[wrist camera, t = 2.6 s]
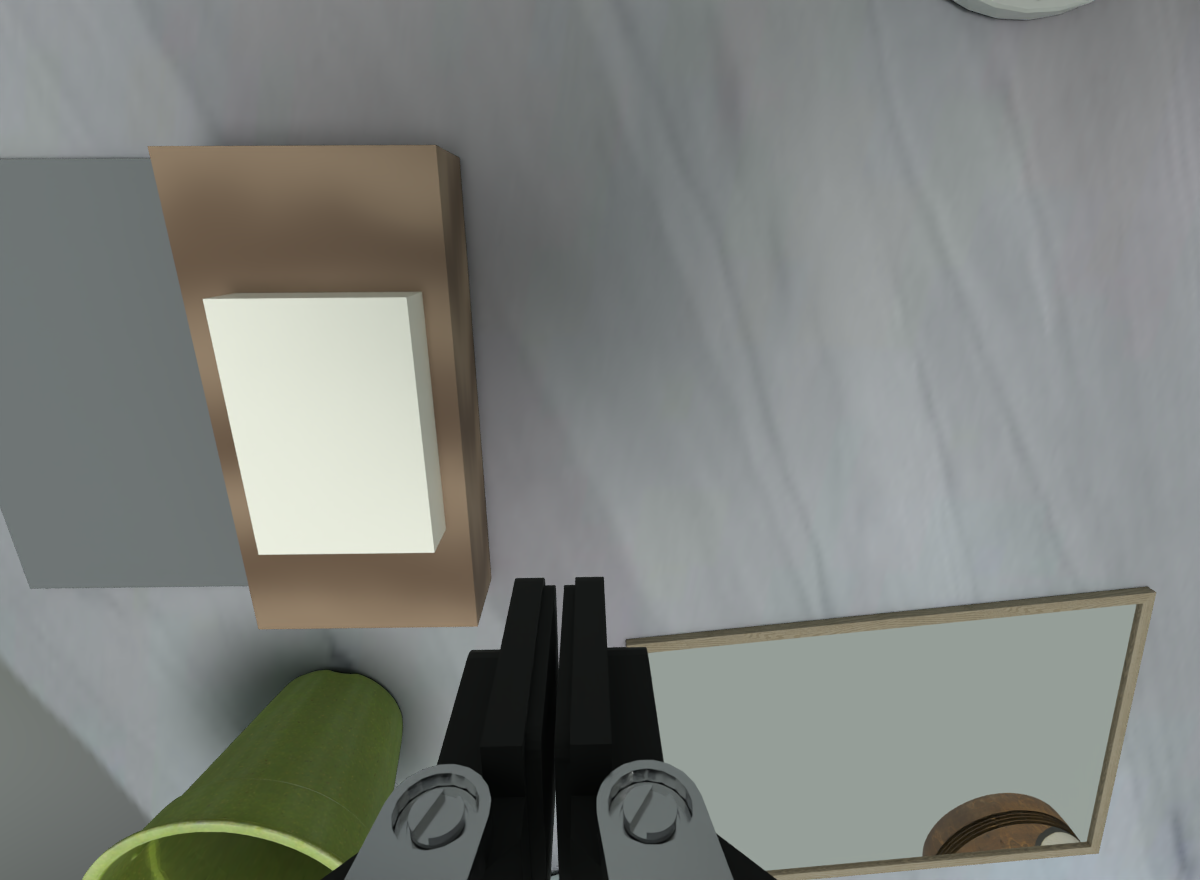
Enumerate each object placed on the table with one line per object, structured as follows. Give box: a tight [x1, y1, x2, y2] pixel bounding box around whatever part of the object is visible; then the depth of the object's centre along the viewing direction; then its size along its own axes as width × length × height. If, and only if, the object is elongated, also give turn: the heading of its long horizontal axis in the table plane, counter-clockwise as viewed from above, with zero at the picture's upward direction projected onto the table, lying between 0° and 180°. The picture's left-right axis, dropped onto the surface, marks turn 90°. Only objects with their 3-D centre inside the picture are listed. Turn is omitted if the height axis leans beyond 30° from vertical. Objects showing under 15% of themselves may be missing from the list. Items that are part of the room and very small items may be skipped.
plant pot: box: [82, 670, 403, 880], centre depth 29 cm, size 12×12×11 cm
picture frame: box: [626, 587, 1156, 880], centre depth 36 cm, size 19×1×28 cm
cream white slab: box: [203, 292, 446, 555], centre depth 23 cm, size 10×7×2 cm
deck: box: [148, 145, 491, 629], centre depth 26 cm, size 20×10×4 cm, turn 0°
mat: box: [0, 158, 249, 589], centre depth 28 cm, size 20×12×1 cm, turn 0°
